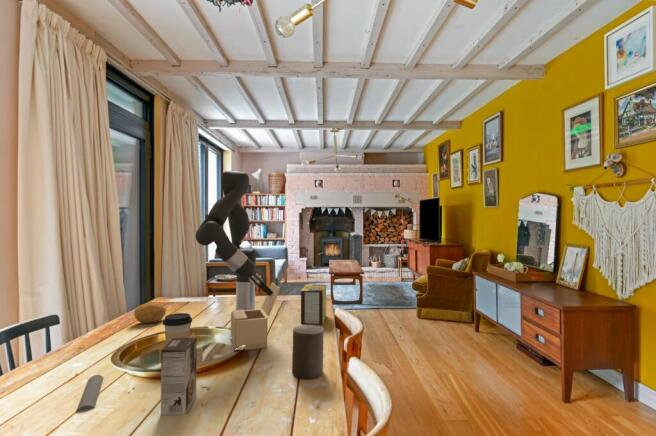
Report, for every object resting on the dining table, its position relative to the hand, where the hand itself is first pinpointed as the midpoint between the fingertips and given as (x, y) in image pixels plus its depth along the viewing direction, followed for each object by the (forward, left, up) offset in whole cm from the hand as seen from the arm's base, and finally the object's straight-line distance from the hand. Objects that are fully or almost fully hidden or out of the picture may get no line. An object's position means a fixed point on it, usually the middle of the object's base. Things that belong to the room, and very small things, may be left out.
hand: (270, 293), depth 141 cm
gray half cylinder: (+26, -55, -19) cm, 64 cm away
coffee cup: (+9, -34, -19) cm, 40 cm away
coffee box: (+41, -32, -19) cm, 55 cm away
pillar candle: (+33, +5, -19) cm, 38 cm away
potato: (-43, -48, -19) cm, 67 cm away
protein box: (-23, +25, -19) cm, 39 cm away
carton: (0, -9, -18) cm, 20 cm away
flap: (0, -2, -7) cm, 7 cm away
